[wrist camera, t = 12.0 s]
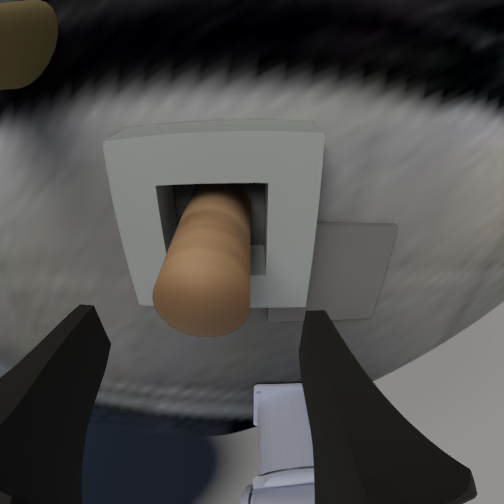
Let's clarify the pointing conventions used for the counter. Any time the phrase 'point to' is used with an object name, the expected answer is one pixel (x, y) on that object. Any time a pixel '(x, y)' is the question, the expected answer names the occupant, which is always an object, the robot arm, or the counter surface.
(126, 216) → the socket
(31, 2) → the olive pepper mill
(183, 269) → the peg
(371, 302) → the pad
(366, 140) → the counter surface
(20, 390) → the robot arm
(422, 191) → the counter surface
